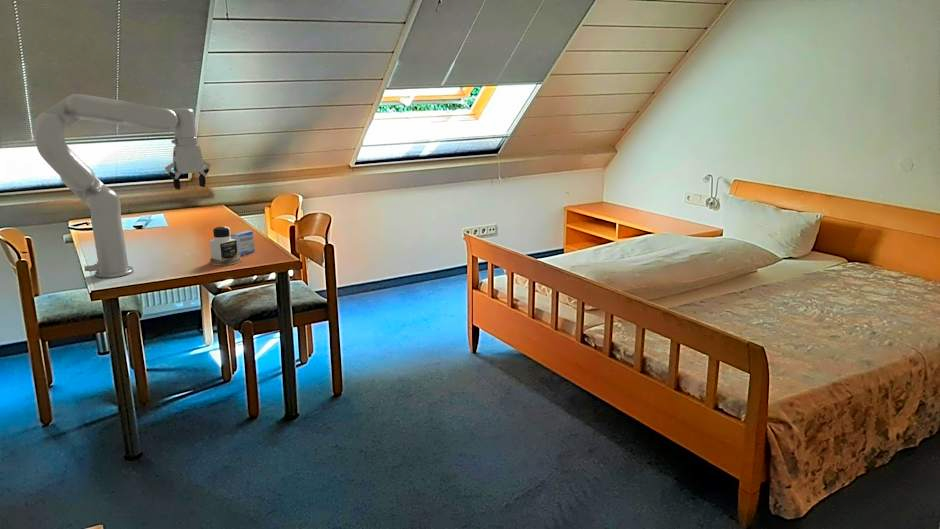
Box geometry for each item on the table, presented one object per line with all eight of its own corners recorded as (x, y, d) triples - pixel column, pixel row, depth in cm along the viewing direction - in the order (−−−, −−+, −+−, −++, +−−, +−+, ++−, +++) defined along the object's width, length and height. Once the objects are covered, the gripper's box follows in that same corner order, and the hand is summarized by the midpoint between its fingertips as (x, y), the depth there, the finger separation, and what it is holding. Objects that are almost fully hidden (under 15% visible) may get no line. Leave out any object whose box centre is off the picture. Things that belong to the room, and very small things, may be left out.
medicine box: (240, 256, 275) (238, 235, 273) (232, 255, 277) (230, 233, 275) (255, 251, 282) (253, 231, 279) (247, 250, 284) (245, 230, 281)
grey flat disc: (213, 267, 260) (212, 263, 259) (207, 260, 269) (206, 256, 269) (244, 262, 266) (244, 258, 265) (237, 256, 275) (237, 252, 275)
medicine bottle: (222, 261, 262) (218, 230, 259) (211, 258, 266) (207, 227, 263) (238, 257, 268) (235, 226, 264) (227, 254, 272) (223, 224, 269)
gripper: (167, 144, 251) (172, 191, 256) (212, 141, 264) (216, 186, 268) (158, 142, 256) (163, 189, 260) (203, 140, 268) (207, 184, 273)
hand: (190, 187), depth 264 cm, fingers open, 9 cm apart
